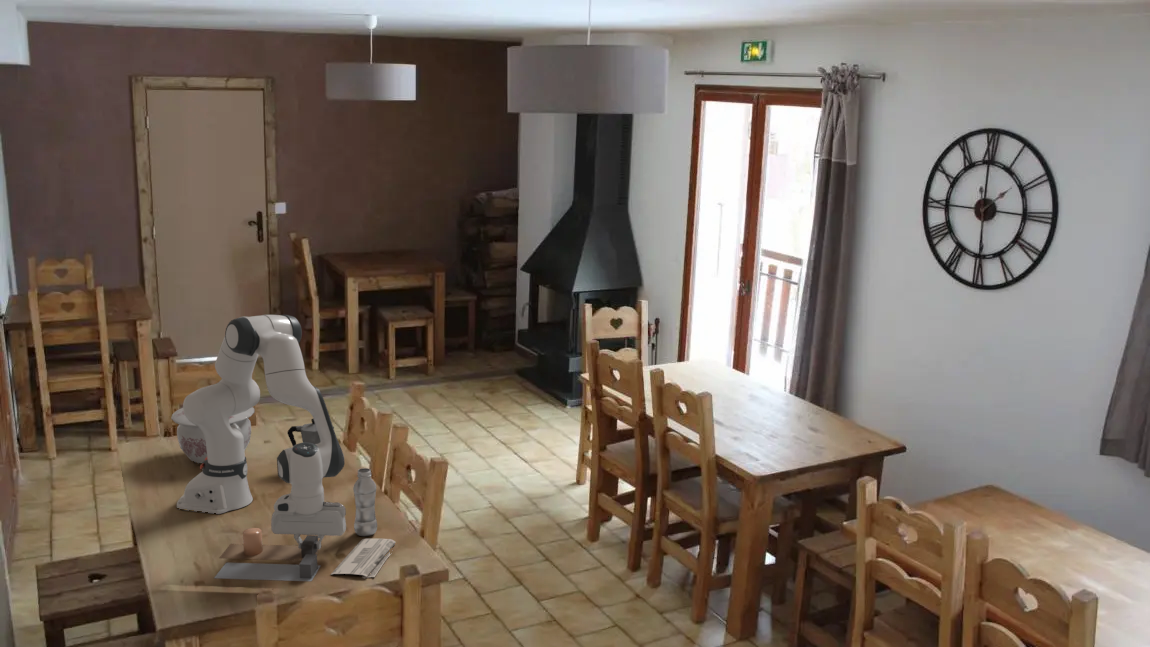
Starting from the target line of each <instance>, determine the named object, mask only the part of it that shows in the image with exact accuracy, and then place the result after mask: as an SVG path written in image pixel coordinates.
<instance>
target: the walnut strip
mask: <svg viewBox="0 0 1150 647" xmlns="http://www.w3.org/2000/svg"><path fill="white" fill-rule="evenodd" d="M302 541H303V543H302V544H301V549H299V548H298V545H287V544H286V545H285V544H262V547H263V551H262V553H260V554H258V555H253V556H249V555H245V554H244V545H243V543H230V544H229V545H228V546H227V548H226V549H225V550H224V551H223V552H222V553H221V555H220V556H219V559H229V560H231V559H234V560H235V559H237V560H260V561H261V560H266V561H267V560H269V561H292V562H293V561H295V562H297V561H298V562H299V561H300V562H301V561H302V559H303V558H304V556H305V555H306V554H317V555H318V553H319V552H320V550H321V549H322V545H321V548H320V549H314V547H315V546H314V543H315V542H316V541H319V538H318V535H306V536H305V538H304V539H303V540H302Z"/></svg>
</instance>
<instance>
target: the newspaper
mask: <svg viewBox="0 0 1150 647" xmlns="http://www.w3.org/2000/svg"><path fill="white" fill-rule="evenodd" d="M395 543H396V541H395V540H393V539H391V538H362V539H361V540H360V541H358V543H357V544H356V545H355V546H354V547H353V549H352V550H350V552H349V553H348V554H347V556H345V557H344V559H343V560H342V561H340V563H339V564H338V565H337V566H336V568H334V570H333V571H332V572H331V574H330V575H332V576H333V575H344V574H345V575H359V576H362V577H361V578H362V579H364V580H366V579H368V578H375V577H376V575H377V574H378V573H379V571H380V569H381V568H382V567H383V565H384V564H385V562H386V561H387V559H388V558H389V557H390V556H391V554H390V552H389V550H390V549H391V548H392V547H393V548H394V546H395V545H396V544H395ZM388 552H389V553H388ZM387 553H388V554H387ZM386 554H387V555H386ZM385 555H386V556H385ZM370 573H371V574H370Z"/></svg>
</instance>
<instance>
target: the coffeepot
mask: <svg viewBox="0 0 1150 647" xmlns="http://www.w3.org/2000/svg"><path fill="white" fill-rule="evenodd" d="M333 428H334V429H335V426H333ZM294 432H296V433H300V435H301V440H302V443H304V442H308V443H313V444H318V443H320V437H319V434H318V431H317V428H316V425H315V422H314V419H313V418H311V422H310V423H304V424H303V425H292V426H291V427H290V428H288V430H287V436H288V438H289V440H290V442H291V445H292V447H293V446H294V445H296V444H297V441H296V439H295V435H294V434H293V433H294Z"/></svg>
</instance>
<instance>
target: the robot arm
mask: <svg viewBox="0 0 1150 647" xmlns="http://www.w3.org/2000/svg"><path fill="white" fill-rule="evenodd" d="M302 335H303V330H302V326H301V323H300V321H299V320H298V319H297V318H296V317H295V316H293V315H289V314H280V315H279V314H262V315H254V316H240V317H236V318H234V319H232V320H230V321H229V322H228V324H227V326H226V328H225V333H224V337H223V339H222V342H221V345H220V348H219V350H218V354H217V356H216V359H215V363H214V369H215V371H216V374H217V375H218V376H219V377H220V378H221V379H220V380H219V381H218V382H216V383H214V384H211V385H207V386H203V387H201V388H198V389H196V390H194V391H192V392H191V393H189V394H188V395H186V396H185V398H184V399H183V404H182V408H183V411H184V414H185V416H186V418H187V419H188V420H189V421H190V422H191V423H193V424H195V425H197V426H198V427H199V428H200V429H201V431H202V433H203V435H204V437H205V441H206V449H207V457H206V458H205V461H203V462H202V464H200V466H199V470H202V471H201V472H199V473H198V474H197V475H196V476H194V477H193V478H191V480H190V481H189V482H187V484H186V486H185V488H184V492H183V494H182V495H181V497H180V498H178V500H177V502H176V508H180V509H187V510H186V511H189V510H194V511H193V512H197V511H202V512H201V513H205V512H208V513H207V514H214V513H216V515H220V514H224V513H226V512H230V511H235V510H238V509H241V508H244V507H246V506H248V505H251V503H252V502H253V499H254V498H253V496H252V492H251V490H250V487H249V481H248V477H247V476H248V464H247V463H248V462H247V457H246V453H245V451H244V437H243V435H242V433H241V432H240V431H239V430H237V429H235V428H232V427H231V426H230V423H229V417H230V416H233V415H236V414H239V413H242V412H245V411H247V410H248V409H250V408H252V407H253V408H254V406H256V405H258V403H259V401H260V400H261V390H260V387H259V385H258V383H257V382H256V380H254V379H253V372H254V370H255V366H256V364H257V363H256V362H257V360H258V358H259V356H260V357H261V358H262V360H263V369H264V377H265V384H266V388H267V391H268V393H269V395H270V396H271V397H272V398H273V399H274V400H276V401H278V402H279V403H282V404H285V405H288V406H291V407H292V406H293V407H297V408H301V409H303V410H304V411H305V410H306V411H307V412H308V413H310V415H311V416H312V419H314V422H315V425H316V428H317V431H318V434H319V437H320V443H318V444H313V443H308V442H304V443H303V442H299V443H296V445H294V446H293V445H292V447H287V448H284V449H282V451H280V453H279V454H278V456H277V457H276V466H277V467H276V468H277V469H276V470H277V476H278V478H279V479H281V481H284V482H285V483H287V484H290V486H291V489H290V492H289V493H287V494H283V495H281V496H280V497H278V498H277V500H276V501H275V503H274V505H273V509H274V511H273V513H272V514H271V515H272V516H271V520H270V521H271V524H270V526H271V528H270V529H271V532H272V533H273V534H274V535H293V539H294V540H295V541H296V543H297V544H298V545H297V546H298V548H299V549H301V544H302V543H303V541H304V540H303V539H302V537H301V536H302V535H303V536H307V535H314V536H318V541H316V542H315V543H314V546H315V547H314V549H320V548H321V549H322V547H321V546H322V541H323V539H324V537H325V536H329V537H330V536H332V537H334V536H335V537H336V536H337V537H340V536H342V535H344V534H345V532H346V530H347V523H346V522H347V521H346V506H345V505H343V504H342V503H340V502H330V501H327V502H326V501H325V489H324V488H325V487H324V486H323V478H334V477H336V476H338V474H340V472H341V471H342V470H343V469H344V467H345V455H344V453H343V449H342V447H341V445H340V443H339V439H338V437H337V435H336V431H335V427H334V426H333V423H332V420H331V417H330V413H329V410H328V407H327V403H326V402H325V399H324V397H323V394H322V393H321V390H320V388H318V387H316V386H314V385H312V383H311V382H310V380H309V378H308V376H307V373H306V367H305V362H304V357H303V353H302V350H301V347H300V342H301V339H302ZM333 427H334V428H333ZM180 509H179V510H180ZM321 549H320V550H321Z"/></svg>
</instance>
